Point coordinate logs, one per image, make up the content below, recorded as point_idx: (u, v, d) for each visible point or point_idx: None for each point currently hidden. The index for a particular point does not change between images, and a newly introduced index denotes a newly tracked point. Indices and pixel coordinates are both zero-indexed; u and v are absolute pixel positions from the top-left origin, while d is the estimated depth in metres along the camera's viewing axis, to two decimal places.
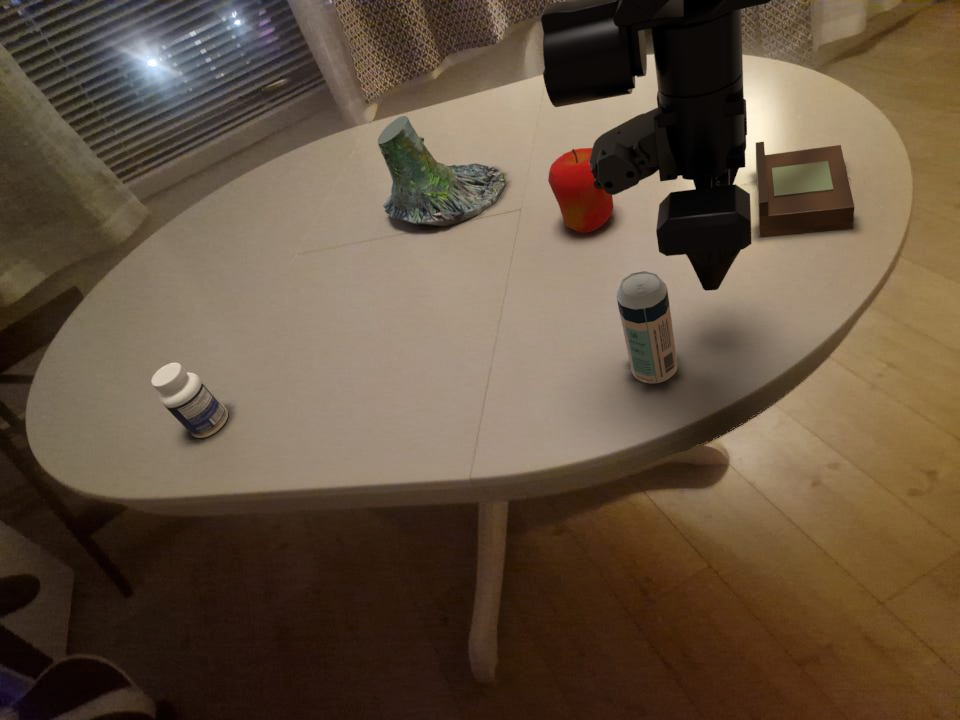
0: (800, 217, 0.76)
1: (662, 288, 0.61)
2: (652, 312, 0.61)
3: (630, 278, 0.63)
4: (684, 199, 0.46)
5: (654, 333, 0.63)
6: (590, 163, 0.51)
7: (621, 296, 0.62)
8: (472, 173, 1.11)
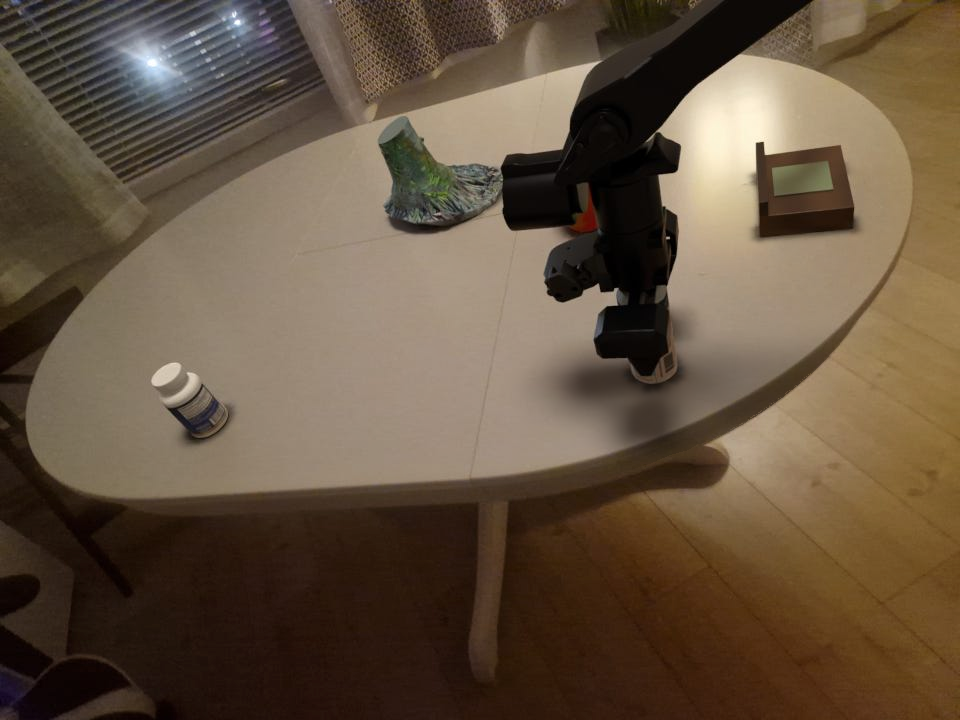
0: (800, 217, 0.76)
1: (662, 288, 0.61)
2: None
3: None
4: (616, 314, 0.56)
5: None
6: (544, 274, 0.61)
7: (620, 296, 0.62)
8: (472, 173, 1.11)
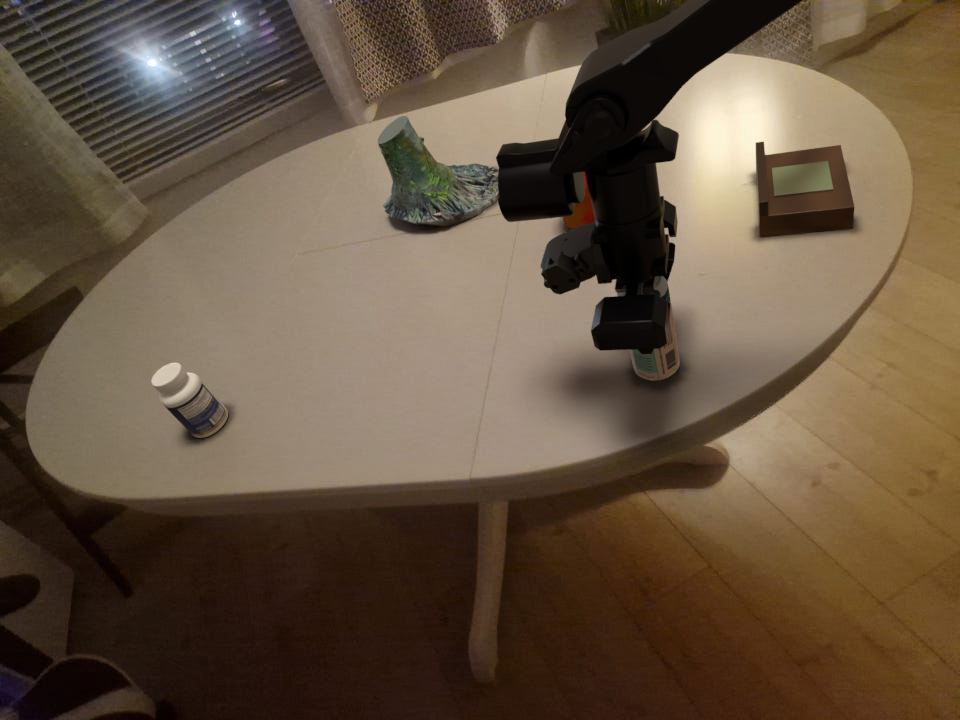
0: (800, 217, 0.76)
1: (663, 284, 0.61)
2: None
3: None
4: (614, 305, 0.56)
5: None
6: (541, 266, 0.61)
7: (621, 292, 0.62)
8: (472, 173, 1.11)
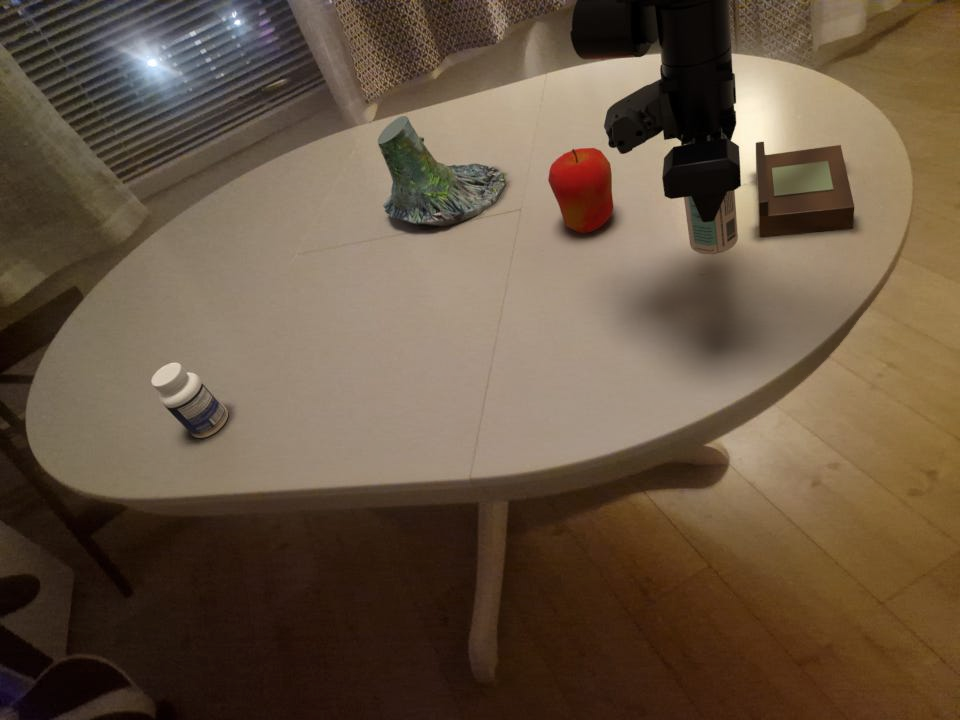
0: (800, 217, 0.76)
1: None
2: None
3: None
4: (685, 151, 0.55)
5: None
6: (605, 126, 0.60)
7: None
8: (472, 173, 1.11)
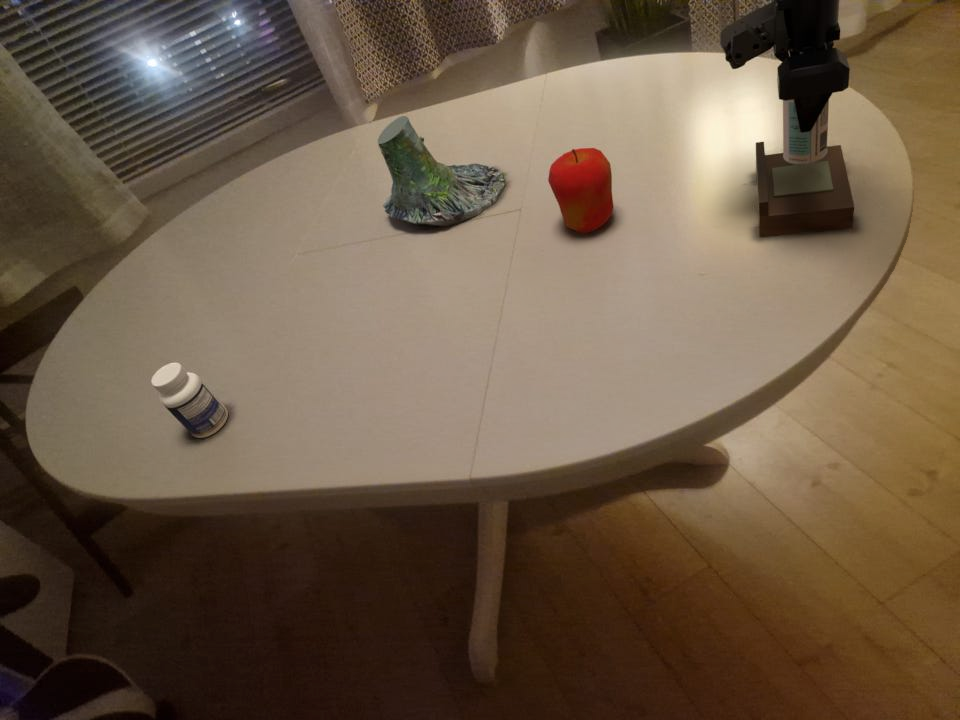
0: (800, 217, 0.76)
1: None
2: None
3: None
4: (798, 59, 0.65)
5: None
6: (722, 43, 0.70)
7: None
8: (472, 173, 1.11)
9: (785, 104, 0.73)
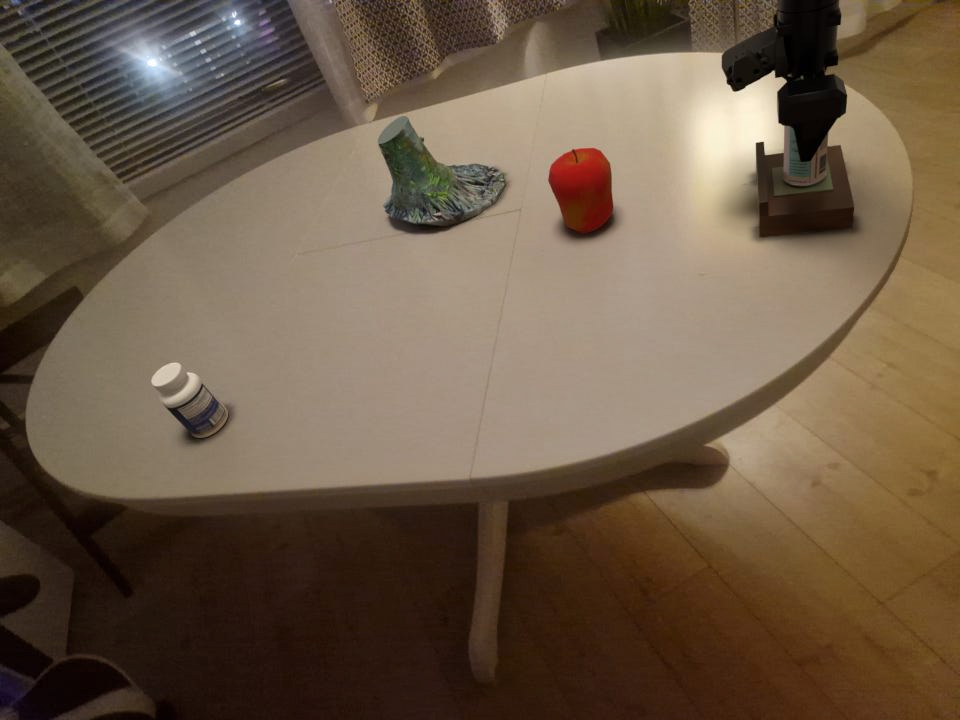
0: (800, 217, 0.76)
1: None
2: None
3: None
4: (798, 85, 0.66)
5: None
6: (723, 67, 0.71)
7: None
8: (472, 173, 1.11)
9: (786, 128, 0.75)
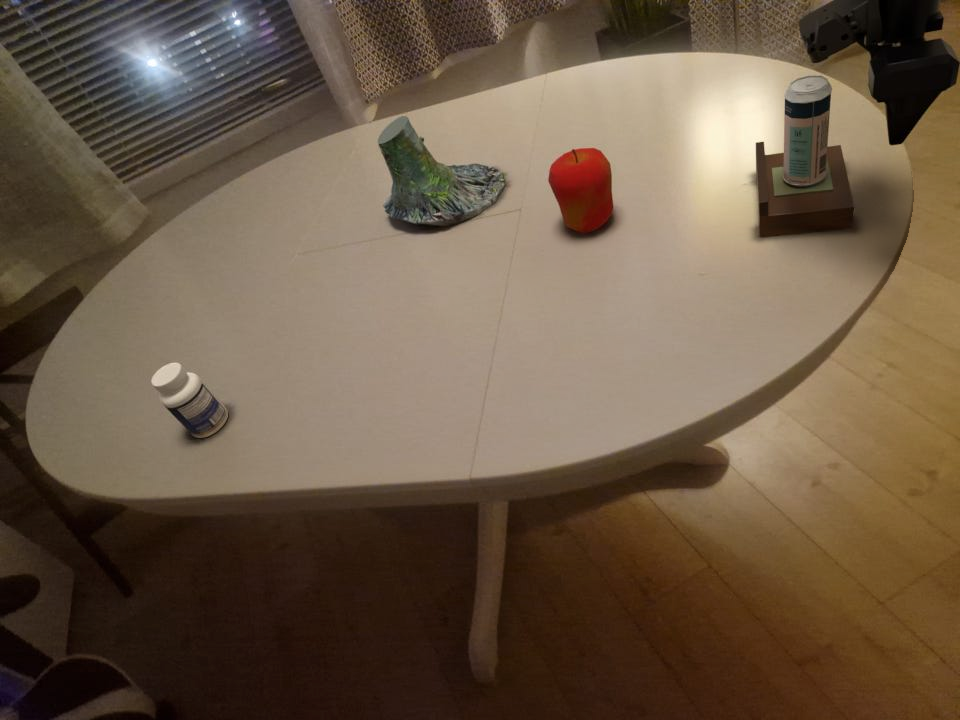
0: (800, 217, 0.76)
1: (829, 85, 0.71)
2: (820, 106, 0.71)
3: (797, 81, 0.73)
4: (897, 51, 0.56)
5: (817, 129, 0.73)
6: (802, 34, 0.62)
7: (791, 94, 0.72)
8: (472, 173, 1.11)
9: (786, 127, 0.75)
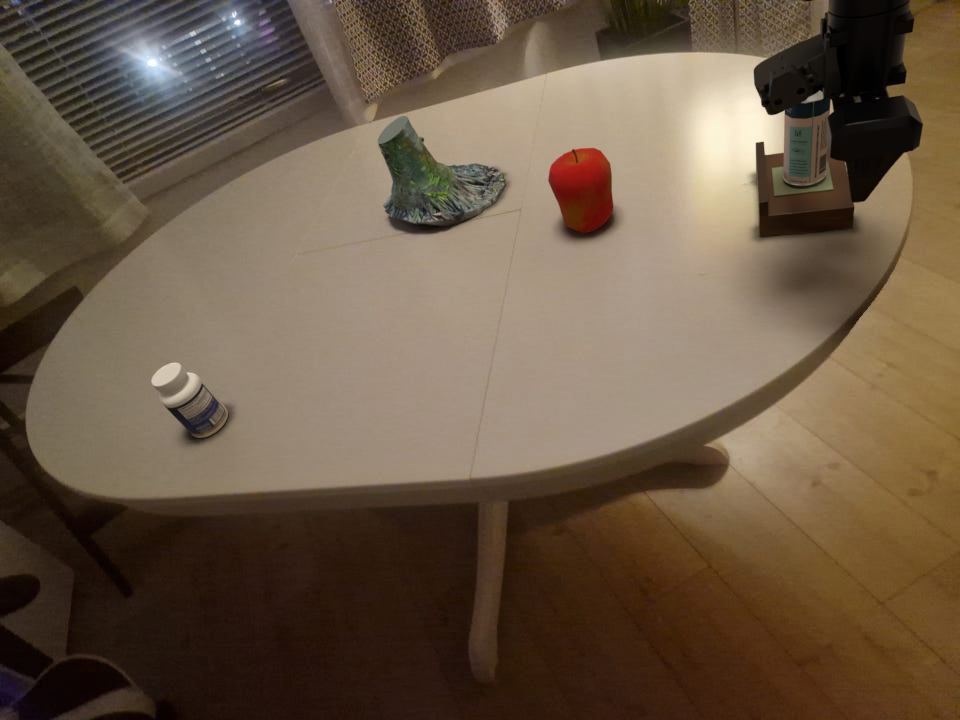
0: (800, 217, 0.76)
1: None
2: (820, 106, 0.71)
3: None
4: (856, 109, 0.52)
5: (817, 129, 0.73)
6: (756, 85, 0.57)
7: None
8: (472, 173, 1.11)
9: (786, 127, 0.75)
